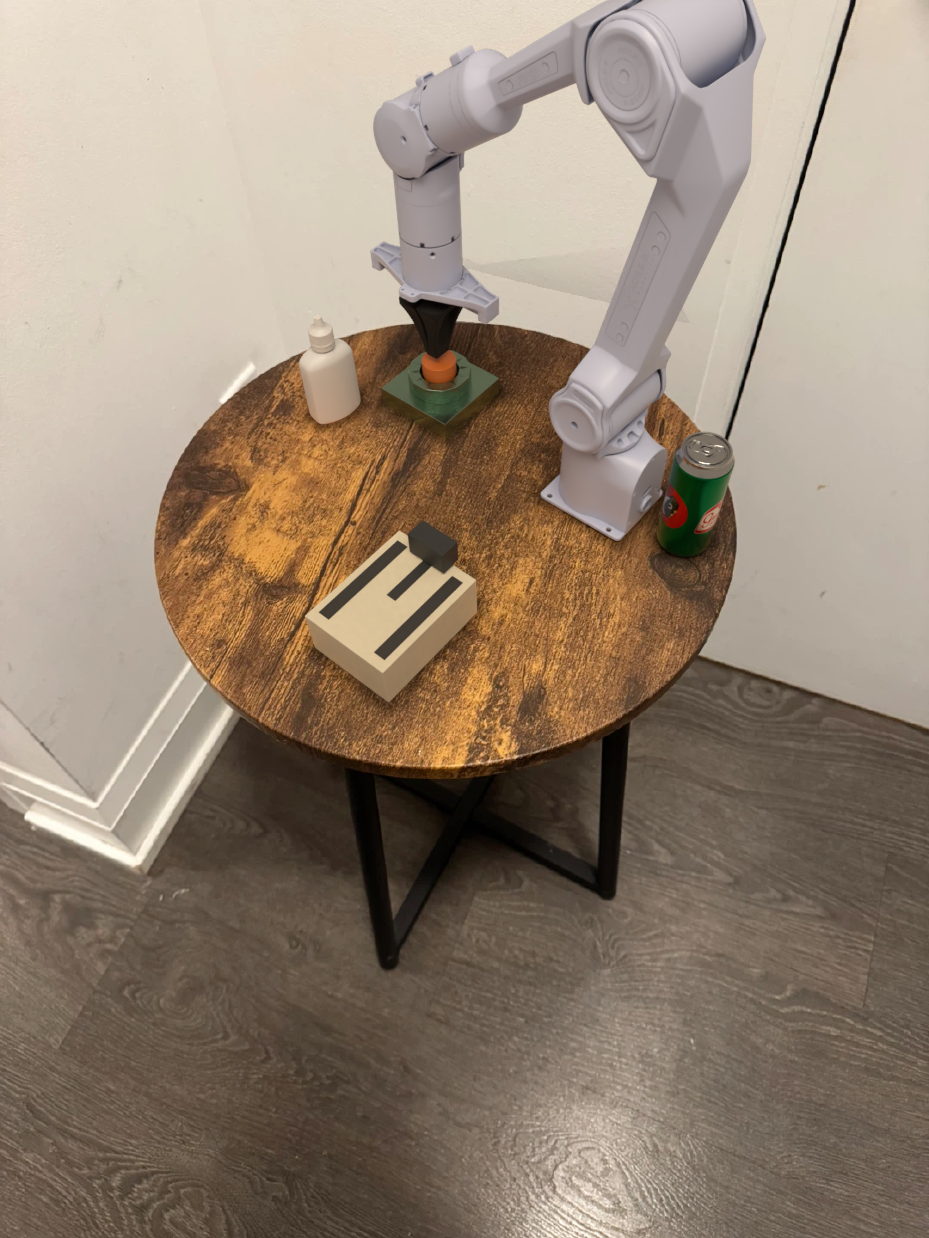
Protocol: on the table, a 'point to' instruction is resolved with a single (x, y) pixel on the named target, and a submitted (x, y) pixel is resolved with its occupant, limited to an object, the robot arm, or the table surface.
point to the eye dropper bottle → (328, 375)
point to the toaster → (392, 616)
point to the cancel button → (439, 367)
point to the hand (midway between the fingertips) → (438, 351)
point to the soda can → (695, 493)
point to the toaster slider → (433, 546)
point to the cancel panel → (441, 395)
